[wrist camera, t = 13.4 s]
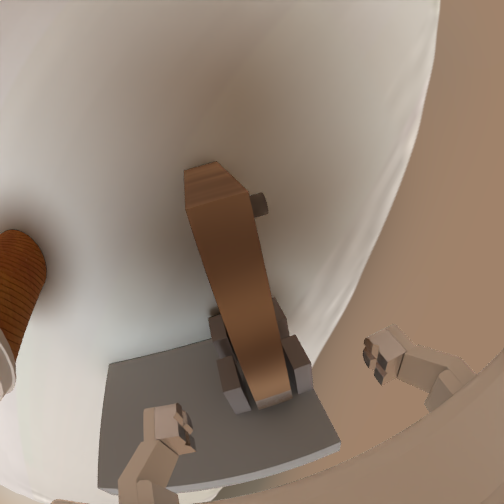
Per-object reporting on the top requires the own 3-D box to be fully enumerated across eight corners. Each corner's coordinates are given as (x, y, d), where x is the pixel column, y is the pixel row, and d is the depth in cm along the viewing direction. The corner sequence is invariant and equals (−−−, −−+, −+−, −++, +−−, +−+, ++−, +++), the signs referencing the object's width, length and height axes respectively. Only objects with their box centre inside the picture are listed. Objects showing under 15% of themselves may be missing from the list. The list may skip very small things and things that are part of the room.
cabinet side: (92, 342, 23) (69, 472, 10) (271, 290, 25) (343, 422, 13) (118, 376, 25) (112, 494, 13) (280, 331, 27) (339, 450, 15)
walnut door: (183, 170, 19) (185, 209, 10) (235, 156, 19) (283, 182, 10) (231, 321, 25) (258, 410, 16) (270, 308, 26) (312, 391, 17)
